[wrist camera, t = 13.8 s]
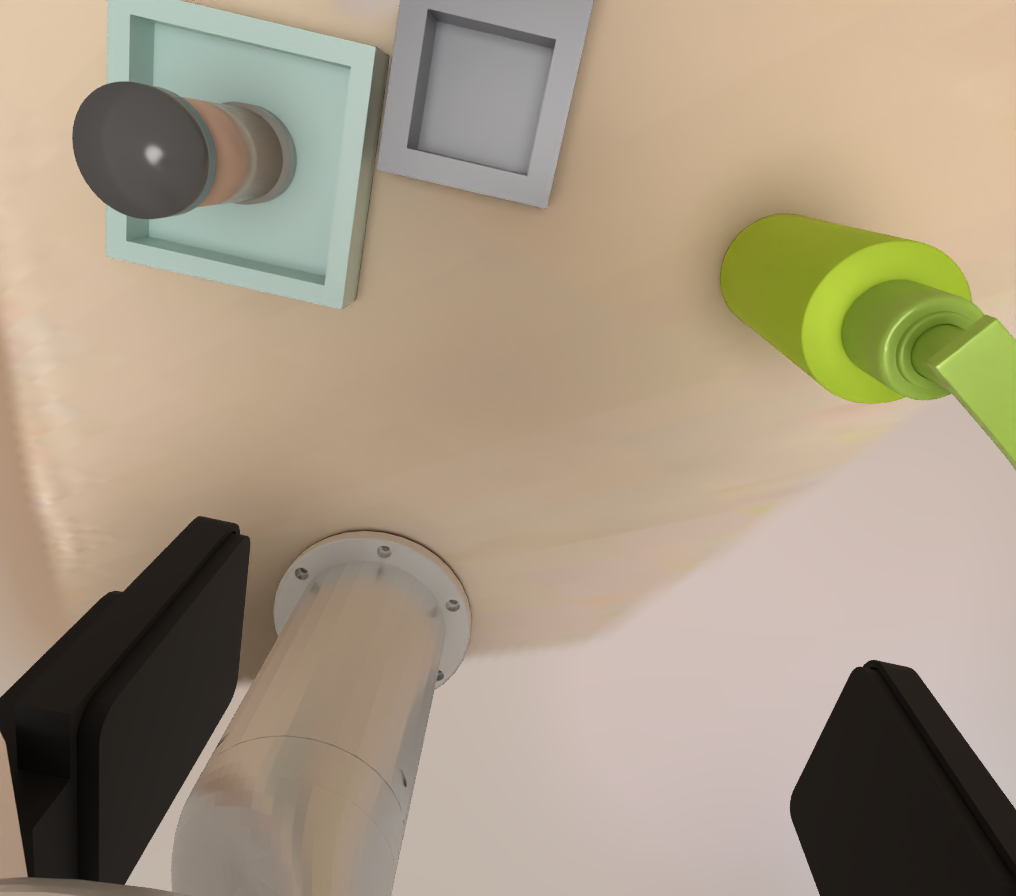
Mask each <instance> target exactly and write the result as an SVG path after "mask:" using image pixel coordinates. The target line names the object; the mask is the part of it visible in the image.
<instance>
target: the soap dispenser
mask: <svg viewBox="0 0 1016 896" xmlns="http://www.w3.org/2000/svg"><path fill="white" fill-rule="evenodd" d="M720 280H721V289H722V293H723V296H724V299H725V301H726V303H727V305H728V306H729V308H730V309H731V311H732V312H733V313H734V314H735V315H736V316H737V317H738V318H740V319H741V320H742V321H743V322H745V323H746V324H747V325H748V326H749V327H751V328H752V329H753V330H754V331H756V332H757V333H758V334H759V335H760V336H762V337H763V338H764V339H765V340H767V341H768V342H769V343H770V344H771V345H773V346H774V347H775V348H776V349H778V350H779V351H780V352H781V353H782V354H784V355H785V356H786V357H787V358H789V359H790V360H791V361H792V362H793V363H795V364H796V365H797V366H798V367H800V368H801V369H802V370H803V371H804V372H806V373H807V374H808V375H809V376H811V377H812V378H813V379H814V380H815V381H817V382H818V383H819V384H820V385H822V386H823V387H824V388H825V389H827V390H828V391H830V392H831V393H833V394H834V395H836V396H838V397H841V398H843V399H846V400H849V401H853V402H858V403H868V404H875V403H885V402H891V401H895V400H899V399H902V398H905V397H907V398H911V399H916V400H932V399H937V398H941V397H945V396H947V395H950V394H953V395H954V396H955V397H956V399H957V400H958V401H959V402H960V403H961V404H962V405H963V407H964V408H965V409H966V410H967V411H968V413H969V414H970V415H971V416H972V417H973V418H974V419H975V421H976V422H977V423H978V424H979V425H980V426H981V428H982V429H983V430H984V431H985V432H986V433H987V435H988V436H989V437H990V438H991V439H992V440H993V442H994V443H995V444H996V446H997V447H998V448H999V449H1000V450H1001V452H1002V453H1003V454H1004V455H1005V456H1006V458H1007V459H1008V460H1009V462H1010V463H1011V464H1012V466H1013V467H1014V468H1015V470H1016V340H1015V339H1014V338H1013V337H1012V335H1011V334H1010V333H1009V332H1008V331H1007V329H1006V328H1005V327H1004V326H1003V325H1002V324H1001V322H1000V321H999V320H998V319H997V318H994V317H991V316H988V315H984V314H983V312H982V311H981V310H980V309H979V308H978V307H977V306H976V305H975V304H973V303H972V299H971V293H970V289H969V285H968V283H967V280H966V278H965V276H964V274H963V272H962V271H961V269H960V268H959V267H958V265H957V264H956V263H955V262H954V261H953V260H952V259H951V258H950V257H949V256H948V255H946V254H945V253H944V252H942V251H940V250H939V249H937V248H935V247H933V246H930V245H928V244H925V243H921V242H917V241H912V240H908V239H903V238H899V237H894V236H890V235H885V234H880V233H876V232H871V231H867V230H862V229H858V228H853V227H849V226H844V225H839V224H835V223H830V222H826V221H821V220H817V219H812V218H808V217H803V216H798V215H793V214H778V215H772V216H768V217H765V218H763V219H760V220H758V221H756V222H754V223H753V224H751V225H750V226H748V227H747V228H746V229H744V230H743V231H742V232H741V233H740V234H739V235H738V236H737V237H736V238H735V240H734V241H733V242H732V244H731V245H730V247H729V249H728V250H727V252H726V255H725V257H724V260H723V263H722V268H721V276H720Z"/></svg>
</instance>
